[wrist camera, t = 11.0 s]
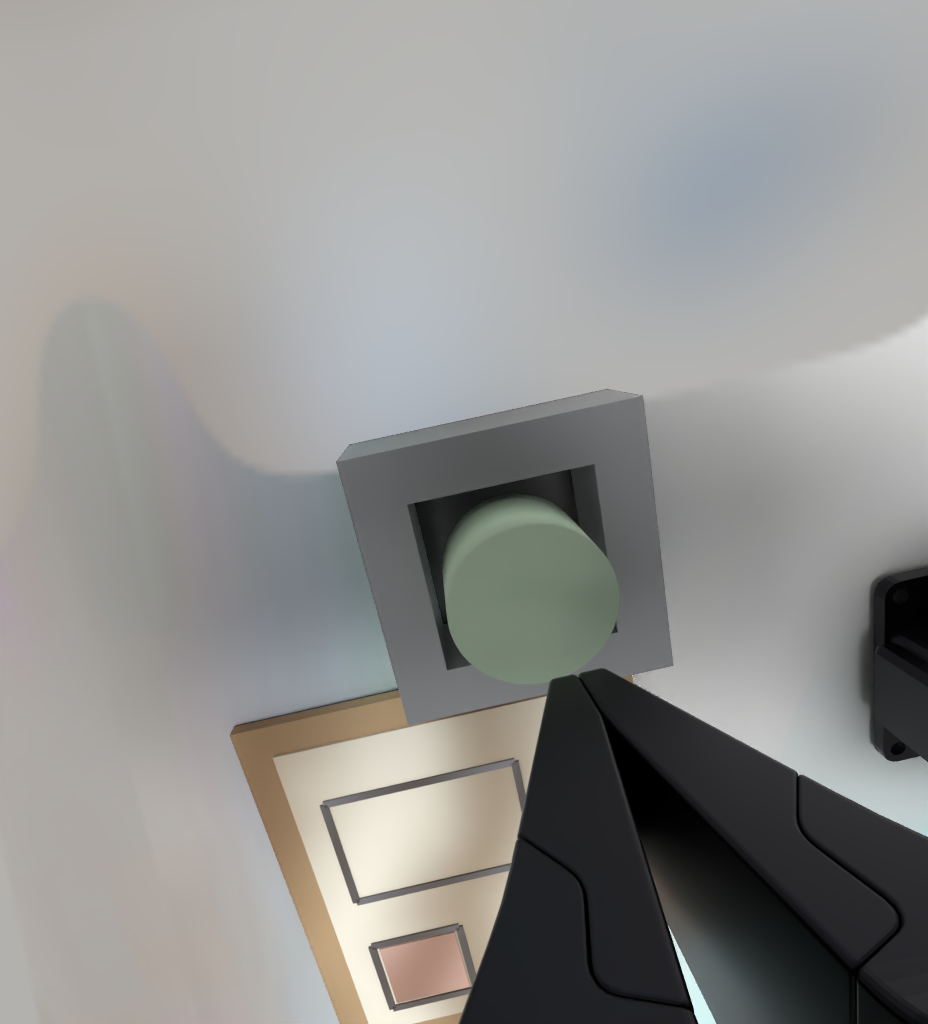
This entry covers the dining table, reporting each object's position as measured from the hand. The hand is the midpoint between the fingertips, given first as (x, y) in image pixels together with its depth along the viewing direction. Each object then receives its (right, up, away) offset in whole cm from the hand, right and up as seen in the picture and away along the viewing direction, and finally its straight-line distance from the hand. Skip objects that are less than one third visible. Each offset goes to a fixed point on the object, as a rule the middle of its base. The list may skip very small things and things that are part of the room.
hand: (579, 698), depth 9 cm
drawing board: (-1, -9, +10) cm, 14 cm away
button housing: (-1, +2, +7) cm, 8 cm away
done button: (-1, +2, +5) cm, 6 cm away
